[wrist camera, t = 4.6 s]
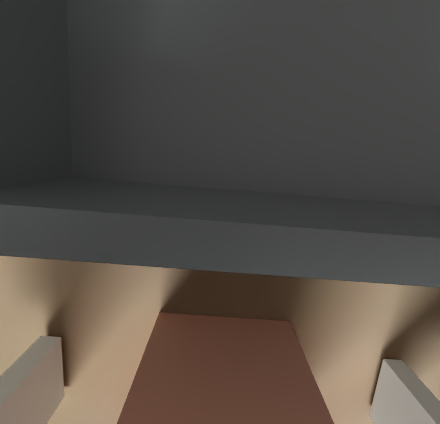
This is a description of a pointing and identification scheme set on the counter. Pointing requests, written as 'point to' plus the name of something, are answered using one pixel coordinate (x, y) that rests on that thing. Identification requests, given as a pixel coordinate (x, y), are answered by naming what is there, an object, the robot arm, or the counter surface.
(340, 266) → the tote
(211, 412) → the cube
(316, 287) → the counter surface
